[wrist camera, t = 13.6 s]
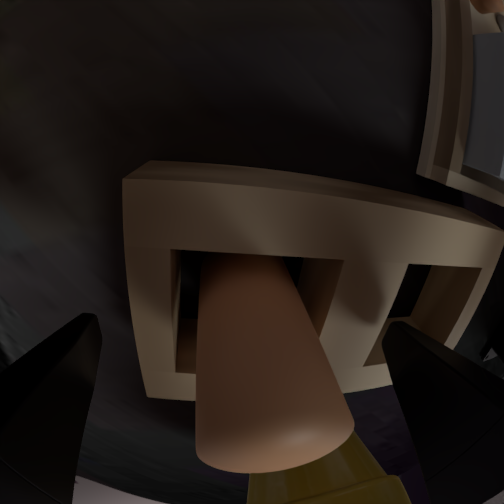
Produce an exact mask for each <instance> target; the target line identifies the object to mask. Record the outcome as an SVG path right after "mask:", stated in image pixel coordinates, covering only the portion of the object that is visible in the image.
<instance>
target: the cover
mask: <svg viewBox="0 0 504 504" xmlns="http://www.w3.org/2000/svg"><path fill="white" fill-rule="evenodd" d="M462 164H463V165H466V166H469V167H472V168H475V169H478V170H480V171H483V172H486V173H488V174H491V175H493V176H495V177H497V178H498V179H500V180H502V181H504V32H498V33H485V34H475V35H473V83H472V98H471V109H470V118H469V126H468V133H467V140H466V146H465V152H464V157H463V162H462Z"/></svg>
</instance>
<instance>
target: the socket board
mask: <svg viewBox="0 0 504 504" xmlns="http://www.w3.org/2000/svg"><path fill="white" fill-rule="evenodd" d="M122 203H123V233H124V250H125V263H126V274H127V284H128V293H129V301H130V308H131V316H132V322H133V329H134V335H135V341H136V346H137V352H138V357H139V362H140V367H141V372H142V377H143V381H144V386H145V390H146V394H147V397H151V398H161V399H173V400H189V401H196V353H197V327H198V319H187V318H181V250H194V251H210V252H226V253H242V254H258V255H275V256H291V257H304V260H303V264H302V268H301V272H300V277H299V281H298V285H297V291H298V293H299V295H300V298H301V300H302V302H303V304H304V307H305V309H306V311H307V313H308V315H309V318H310V320H311V322H312V324H313V327H314V329H315V331H316V333H317V336H318V338H319V340H320V342H321V345H322V347H323V349H324V352H325V354H326V356H327V358H328V361H329V363H330V365H331V368H332V370H333V372H334V375H335V377H336V379H337V382H338V384H339V386H340V389H341V391H342V393H349V392H355V391H361V390H367V389H372V388H377V387H382V386H387V385H392V381H391V377H390V374H389V370H388V367H387V363H386V360H385V356H384V353H383V350H382V345H381V343H382V339H383V337H384V335H385V333H386V331H387V329H388V326H389V325H390V323H391V322H393V321H404V322H406V323H407V324H409V325H411V326H412V327H414V328H416V329H418V330H419V331H421V332H423V333H425V334H426V335H428V336H430V337H431V338H433V339H435V340H437V341H438V342H440V343H442V344H443V345H445V346H447V347H448V348H450V349H452V350H453V349H454V347H455V346H456V344H457V342H458V341H459V339H460V337H461V336H462V334H463V332H464V330H465V329H466V327H467V325H468V323H469V322H470V320H471V318H472V316H473V314H474V312H475V310H476V308H477V306H478V304H479V302H480V300H481V298H482V296H483V294H484V292H485V290H486V288H487V285H488V283H489V281H490V279H491V276H492V274H493V272H494V269H495V267H496V264H497V262H498V259H499V257H500V254H501V251H502V249H503V246H504V230H502V229H501V228H499V227H497V226H496V225H494V224H492V223H490V222H489V221H487V220H485V219H483V218H482V217H480V216H478V215H476V214H474V213H473V212H471V211H469V210H467V209H465V208H461V207H458V206H454V205H451V204H447V203H443V202H440V201H436V200H432V199H428V198H424V197H420V196H416V195H412V194H408V193H403V192H399V191H395V190H390V189H385V188H381V187H376V186H371V185H366V184H361V183H356V182H350V181H345V180H339V179H333V178H327V177H321V176H315V175H308V174H302V173H295V172H287V171H280V170H272V169H263V168H254V167H245V166H234V165H223V164H211V163H196V162H179V161H154V160H150V161H148V162H147V163H145V164H144V165H142V166H141V167H139V168H138V169H136V170H135V171H133V172H132V173H130V174H129V175H127V176H126V177H124V178H123V179H122ZM408 264H426V265H432V266H431V269H430V271H429V274H428V276H427V279H426V281H425V284H424V286H423V289H422V291H421V293H420V295H419V298H418V300H417V302H416V304H415V307H414V309H413V311H412V313H411V315H410V316H409V317H396V318H387V316H388V314H389V311H390V309H391V307H392V304H393V302H394V300H395V297H396V295H397V293H398V290H399V288H400V285H401V283H402V280H403V277H404V275H405V272H406V269H407V267H408Z"/></svg>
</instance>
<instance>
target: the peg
mask: <svg viewBox="0 0 504 504" xmlns="http://www.w3.org/2000/svg"><path fill="white" fill-rule="evenodd" d="M353 429H354V420H353V417H352V415H351V413H350V410H349V408H348V405H347V403H346V401H345V398H344V396H343V393H342V391H341V389H340V386H339V384H338V382H337V379H336V377H335V375H334V372H333V370H332V368H331V365H330V363H329V361H328V358H327V356H326V354H325V352H324V349H323V347H322V345H321V342H320V340H319V338H318V336H317V333H316V331H315V329H314V327H313V324H312V322H311V320H310V318H309V315H308V313H307V311H306V309H305V307H304V304H303V302H302V300H301V298H300V295H299V293H298V291H297V289H296V287H295V285H294V282H293V280H292V278H291V276H290V274H289V271H288V269H287V267H286V265H285V263H284V261H283V259H282V256H275V255H258V254H242V253H226V252H210V251H209V252H208V253H207V254H206V256H205V258H204V260H203V262H202V266H201V274H200V289H199V306H198V327H197V353H196V453H197V456H198V457H199V458H200V459H201V460H202V461H203V462H204V463H206V464H208V465H210V466H212V467H214V468H217V469H221V470H224V471H230V472H237V473H266V472H274V471H280V470H285V469H290V468H293V467H297V466H300V465H303V464H306V463H309V462H312V461H314V460H316V459H319V458H321V457H323V456H325V455H327V454H328V453H330V452H332V451H333V450H335V449H336V448H338V447H339V446H340V445H341V444H343V443H344V442H345V441H346V440H347V439H348V438H349V436H350V435H351V433H352V431H353Z"/></svg>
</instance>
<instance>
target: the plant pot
mask: <svg viewBox="0 0 504 504" xmlns="http://www.w3.org/2000/svg"><path fill="white" fill-rule="evenodd" d="M247 504H411V502H410V500H409V497H408V495H407V493H406V491H405V489H404V487H403V484H402V483H401V481H400V479H399V477H398V476H396V475H387V474H386V473H385V472H384V470H383V469H382V468H381V466H380V465H379V464H378V462H377V461H376V460H375V458H374V457H373V456H372V454H371V453H370V452H369V450H368V449H367V448H366V446H365V445H364V444H363V442H362V441H361V440H360V438H359V437H358V436H357V434H356V433H355V432H354V430H353V431H352V433H351V435H350V436H349V438H348V439H347V440H346V441H345V442H344V443H343V444H341V445H340V446H339V447H338V448H336V449H335V450H333V451H332V452H330V453H328V454H327V455H325V456H323V457H321V458H319V459H316V460H314V461H312V462H309V463H306V464H303V465H300V466H297V467H293V468H290V469H285V470H280V471H274V472H266V473H250V476H249V487H248V497H247Z"/></svg>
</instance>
